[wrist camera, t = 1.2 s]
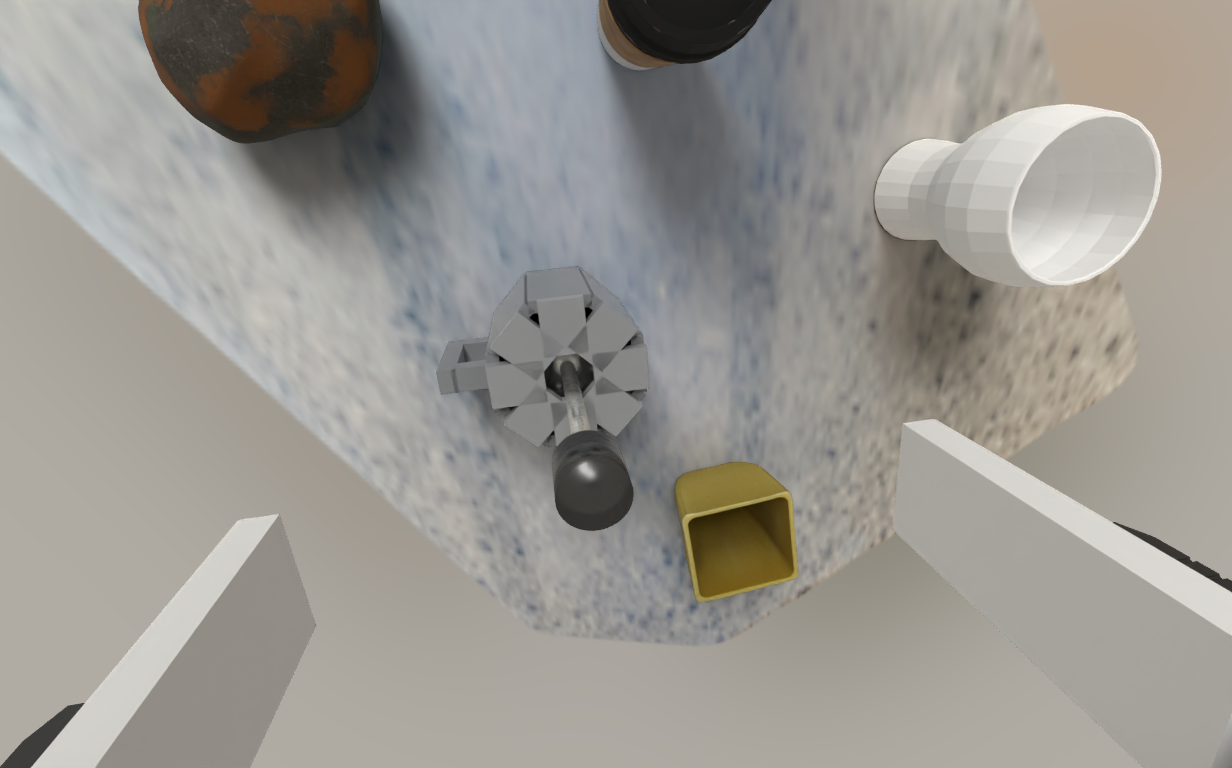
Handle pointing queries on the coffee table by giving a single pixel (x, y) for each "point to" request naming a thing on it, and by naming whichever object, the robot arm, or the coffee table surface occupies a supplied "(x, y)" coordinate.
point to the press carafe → (553, 356)
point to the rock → (265, 61)
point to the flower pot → (736, 529)
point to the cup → (1028, 194)
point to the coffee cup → (673, 29)
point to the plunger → (585, 456)
